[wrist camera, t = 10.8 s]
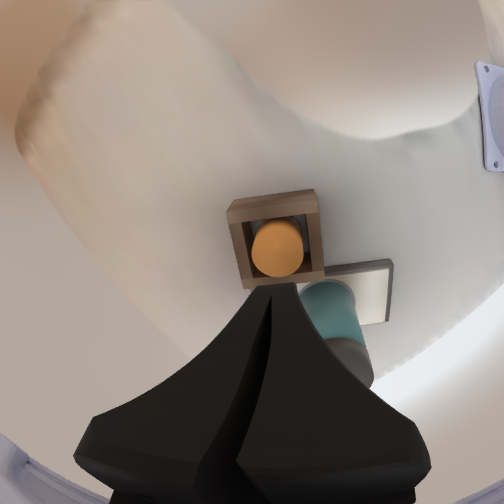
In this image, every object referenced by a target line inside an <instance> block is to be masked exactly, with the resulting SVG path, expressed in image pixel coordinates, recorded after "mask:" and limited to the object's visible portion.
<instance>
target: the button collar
mask: <svg viewBox="0 0 504 504" xmlns="http://www.w3.org/2000/svg"><path fill="white" fill-rule="evenodd" d="M301 214H305V216H306V224H307V232H308V241H309V250H310V253H307V254H303V261H302V263H301V265H300V267H299V268H298V269H297V270H296V271H295V272H293V273H292V274H290V275H288V276H284V277H272V276H268V275H266V274H264V273H262V272H261V271H260V270H259V269H258V268H257V267H256V266H255V264H254V262H253V259H252V247H253V244H254V243H253V238H252V233H251V228H250V223H249V221H255V220H262V219H270V218H277V217H285V216H293V215H301ZM226 215H227V220H228V224H229V228H230V233H231V237H232V241H233V246H234V250H235V254H236V259H237V263H238V267H239V271H240V276H241V280H242V284H243V288H244V289H251V288H256V286H261V285H270V284H280V283H289V282H294V283H295V284H299V283H308V282H317V281H325V274H324V261H323V249H322V238H321V228H320V218H319V209H318V201H317V197H316V195H315V192H314V190H313V189H309V190H301V191H294V192H286V193H279V194H272V195H265V196H258V197H251V198H245V199H238V200H234V201H233V202H232V204H231V205H230V207H229V208H228V210H227V211H226Z"/></svg>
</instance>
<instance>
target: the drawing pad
mask: <svg viewBox="0 0 504 504" xmlns="http://www.w3.org/2000/svg"><path fill="white" fill-rule="evenodd" d="M393 266H394V264H393V263H392V261H391V260H390V259H386V260H378V261H371V262H363V263H355V264H347V265H339V266H331V267H324V274H325V281H317V282H308V283H299V284H296V285H297V290H298V294H299V296H300V295H301V294H302V292H303V291H304V290H305V289H307V288H308V287H310V286H312V285H314V284H317V283H321V282H333V283H337V284H340V285H342V286H343V287H345V288H346V289H347V290H348V291H349V293H350V294H351V297H352V300H353V303H354V307H355V310H356V313H357V317H358V320H359V324H360V326H361V325H367V324H374V323H380V322H386V321H389V313H390V304H391V294H392V281H393ZM254 289H255V288H251V289H250V290H251V293H252V291H253V290H254Z"/></svg>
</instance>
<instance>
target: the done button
mask: <svg viewBox="0 0 504 504" xmlns="http://www.w3.org/2000/svg"><path fill="white" fill-rule="evenodd" d="M252 259H253V262H254V264H255V266H256V267H257V268H258V269H259V270H260V271H261V272H262V273H264V274H266V275H268V276H272V277H284V276H288V275H290V274H292V273H293V272H295V271H296V270H297V269H298V268H299V267H300V265H301V263H302V261H303V244H302V235H301V228H300V225H299V224H298V222H297V221H296V220H295V219H294V218H293V217H292V216H285V217H277V218H270V219H262V221H261V222H260V224H259V226H258V229H257V233H256V236H255V240H254V244H253V247H252Z"/></svg>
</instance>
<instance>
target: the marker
mask: <svg viewBox="0 0 504 504" xmlns="http://www.w3.org/2000/svg"><path fill="white" fill-rule="evenodd" d="M299 297H300V300H301V302H302V304H303V306H304V308H305V310H306V312H307V314H308V316H309V317H310V319H311V321H312V323H313V324H314V326H315V328H316V329H317V331H318V332H319V333H320V335H321V336H322V338H323V339H324V341H325V342H326V343H327V345H328V346H329V347H330V349H331V350H332V351H333V352H334V353H335V355H336V356H337V357H338V358H339V359H340V360H341V361H342V363H343V364H344V365H345V366H346V367H347V368H348V369H349V370H350V371H351V372H352V373H353V374H354V375H355V376H356V377H357V378H358V379H359V380H360V381H361V382H362V383H364V384H365V385H366V386H367V387H368V388H370V387H371V385H372V383H373V380H374V374H373V369H372V365H371V361H370V357H369V354H368V351H367V349H366V346H365V342H364V338H363V334H362V331H361V327H360V324H359V320H358V317H357V313H356V310H355V307H354V303H353V300H352V297H351V294H350V293H349V291H348V290H347V289H346V288H345V287H343V286H342V285H340V284H337V283H333V282H321V283H317V284H314V285H312V286H310V287H308V288H307V289H305V290H304V291H303V292H302V294H301V295H300V296H299Z"/></svg>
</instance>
